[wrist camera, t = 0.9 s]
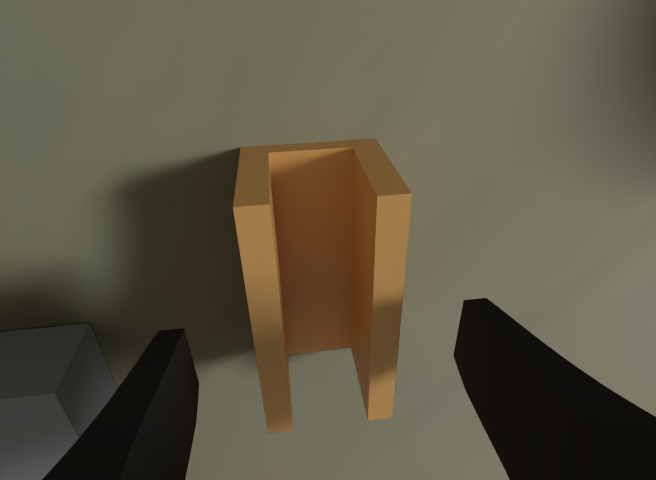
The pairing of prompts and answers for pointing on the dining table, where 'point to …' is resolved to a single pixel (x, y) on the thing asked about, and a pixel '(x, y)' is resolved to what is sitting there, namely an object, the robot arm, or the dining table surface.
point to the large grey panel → (48, 395)
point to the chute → (323, 263)
